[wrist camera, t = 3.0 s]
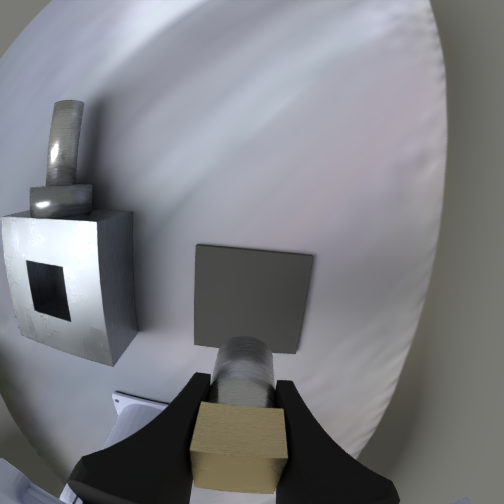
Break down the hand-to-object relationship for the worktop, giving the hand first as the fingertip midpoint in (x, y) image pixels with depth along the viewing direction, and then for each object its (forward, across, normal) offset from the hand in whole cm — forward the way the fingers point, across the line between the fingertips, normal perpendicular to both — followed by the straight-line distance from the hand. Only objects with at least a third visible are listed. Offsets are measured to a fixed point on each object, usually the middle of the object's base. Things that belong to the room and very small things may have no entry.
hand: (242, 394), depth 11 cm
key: (+3, 0, 0) cm, 3 cm away
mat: (+10, 0, 0) cm, 10 cm away
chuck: (+10, +14, -5) cm, 18 cm away
